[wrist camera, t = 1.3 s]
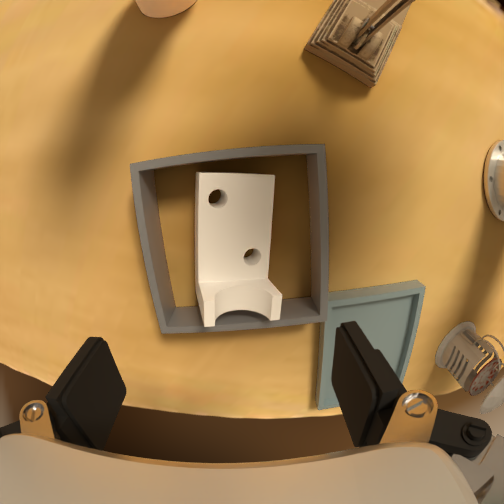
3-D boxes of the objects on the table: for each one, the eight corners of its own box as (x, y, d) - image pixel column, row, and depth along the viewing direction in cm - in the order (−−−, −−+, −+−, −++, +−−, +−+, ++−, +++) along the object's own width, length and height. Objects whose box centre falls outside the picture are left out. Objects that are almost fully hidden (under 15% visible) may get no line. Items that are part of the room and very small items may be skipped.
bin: (313, 146, 27) (324, 144, 23) (317, 301, 33) (327, 321, 28) (145, 163, 27) (129, 163, 23) (170, 313, 33) (161, 333, 28)
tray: (417, 279, 32) (425, 286, 30) (394, 383, 38) (399, 391, 36) (320, 293, 32) (325, 301, 30) (315, 400, 38) (317, 410, 36)
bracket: (256, 287, 33) (279, 319, 26) (195, 290, 31) (204, 326, 24) (263, 173, 29) (292, 177, 22) (195, 171, 27) (204, 174, 20)
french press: (431, 376, 38) (498, 476, 14) (440, 324, 35) (536, 431, 11) (470, 355, 38) (540, 439, 14) (481, 304, 34) (575, 386, 10)
